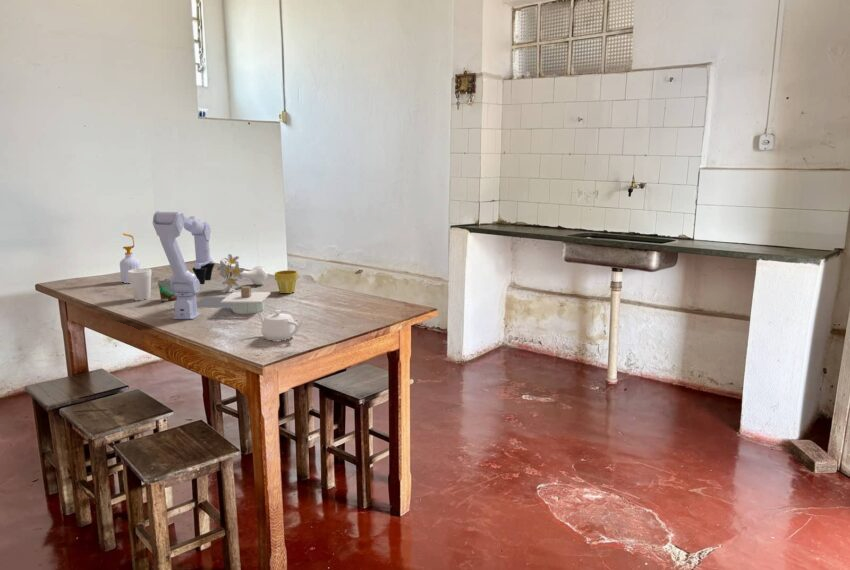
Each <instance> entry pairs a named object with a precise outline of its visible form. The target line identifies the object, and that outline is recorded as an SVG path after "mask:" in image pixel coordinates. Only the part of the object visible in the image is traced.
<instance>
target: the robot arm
mask: <svg viewBox="0 0 850 570" xmlns="http://www.w3.org/2000/svg"><path fill="white" fill-rule="evenodd" d="M152 225H153V228H154V230H155V232H156V236H158V238H159V241H160V244H161V246H162V248H163V251H164V253H165V256H166V258H167V261H168V263H169V265H170V269H171V271H172V273H173V274H172V275H171V277H170V278H169V279H170V283H171V290H172V291H173V293H175V295H177V300H175V301H174V304H173V305H174V317H173V320H194V319H195V318H197V317H198V316H199V315H200V314H201V313H202V312H201V311H198V307H197V302H198V301H197V294H198V293H199V292H200V290H201V285H205V282H206V281H211V279H212V275H213V273H212V272H213V269H214V268H215V263H214V260H212V257H211V252H210V251H211V250H210V249H211V248H210V239H211V232H212V228H211V225H210V224H209V223H208V222H207V221H205V222H203V221H201V220H200V219H197V218H196V217H195V216H191V215H190V216H189V217H187V216H186V215H185V214H184V212H182V211H159V210H158V211H155V213H154V214H153V217H152ZM183 228H184V230H185V231H188V232H190V234H191V235H192V236H193V237H194V238H193V239H194V251H195V252H194V253H195V264H194V267H192V272H191V271H190V270H188V267H187V265H186V263H185V259H184V257H183V254H182V252H181V250H180V247H179V244H178V241H177V238H179V237H180V236H181V233H182V230H183Z"/></svg>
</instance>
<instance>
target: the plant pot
mask: <svg viewBox="0 0 850 570" xmlns="http://www.w3.org/2000/svg"><path fill="white" fill-rule="evenodd" d="M274 280H275V281H276V283H277V286H278V287H277V288H278V290H279V293H280V294H281V293H292V292H294V293H295V290H296V284H297V280H298V271H296V270H292V269H291V270H287V269H286V270H279V271H275V272H274ZM292 294H293V293H292Z"/></svg>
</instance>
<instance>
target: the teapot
mask: <svg viewBox="0 0 850 570" xmlns="http://www.w3.org/2000/svg"><path fill="white" fill-rule="evenodd" d="M281 312H282V310H281V309H276V310H274V313H273V314H269V315H266V316H265V317H264V315H263V314H262V312H258V313H257V314H258V316H259V319H260V322H261V324H262V326H261V329H260V331H261V334H262V336H263V338H265V339H266V340H267V339H268V340H267V341H269V340H285V339H289V338H291V337H292V338H293V336H295V335H296V334H297V333H298V332H299V331H300V324H299V323H298V322H296V321H295V320H294V318H293V316H292V315H291V314H289V313H281ZM292 338H291V339H292ZM289 340H290V339H289ZM285 341H286V340H285Z"/></svg>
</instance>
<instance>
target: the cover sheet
mask: <svg viewBox="0 0 850 570" xmlns="http://www.w3.org/2000/svg"><path fill="white" fill-rule="evenodd" d="M270 295H271V292H270V291H265V292H263V291H262V292H261V291H257V292H256V291H252V286H248V285H247V286H245V285H244V286H241V287H240V291H232V293H231V292H230V294H229V295H227V296H225V297H226V298H225V299H223V300H222V301H221V303H261V302H262V301H263V300H264V301H265V299H267V298H268V297H269V296H270Z"/></svg>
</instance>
